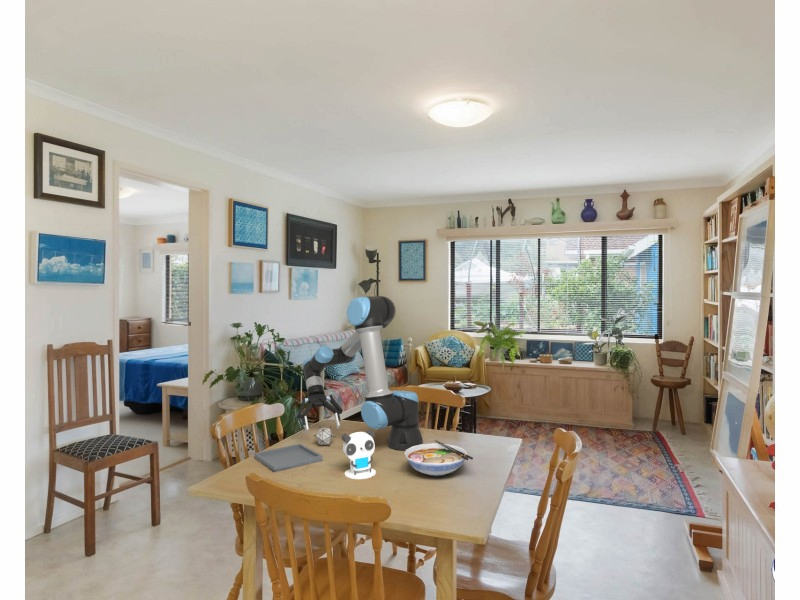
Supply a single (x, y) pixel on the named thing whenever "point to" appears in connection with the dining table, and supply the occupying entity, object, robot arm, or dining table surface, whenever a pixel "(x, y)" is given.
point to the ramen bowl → (436, 458)
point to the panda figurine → (359, 454)
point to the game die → (324, 436)
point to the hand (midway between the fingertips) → (323, 429)
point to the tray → (288, 457)
